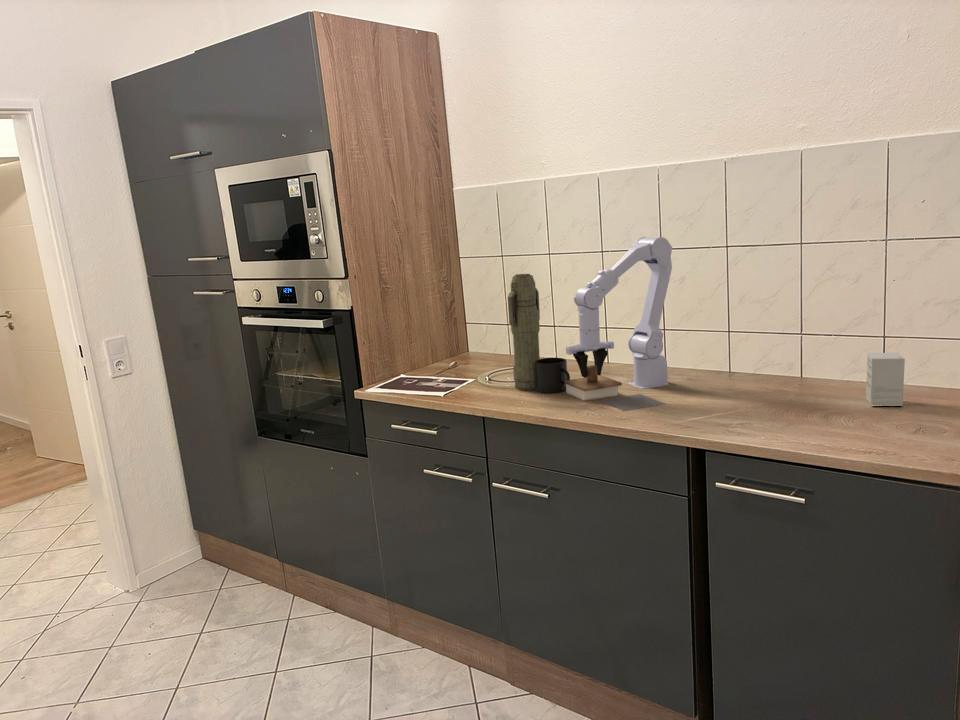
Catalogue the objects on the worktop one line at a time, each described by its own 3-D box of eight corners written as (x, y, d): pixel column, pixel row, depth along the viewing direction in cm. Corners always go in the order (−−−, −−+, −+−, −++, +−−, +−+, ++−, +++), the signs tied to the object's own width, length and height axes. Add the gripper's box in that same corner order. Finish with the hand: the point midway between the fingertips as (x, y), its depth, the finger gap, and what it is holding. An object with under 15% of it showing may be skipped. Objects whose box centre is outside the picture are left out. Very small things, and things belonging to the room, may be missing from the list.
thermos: (505, 389, 229) (498, 276, 222) (528, 381, 237) (522, 272, 230) (527, 392, 223) (521, 276, 216) (551, 383, 231) (545, 272, 224)
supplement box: (897, 400, 189) (899, 352, 187) (903, 408, 182) (905, 358, 180) (865, 399, 192) (866, 352, 189) (869, 407, 185) (871, 358, 182)
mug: (559, 396, 216) (558, 366, 214) (530, 390, 225) (528, 361, 223) (580, 389, 222) (579, 360, 220) (551, 384, 231) (550, 356, 229)
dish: (599, 389, 221) (598, 377, 220) (618, 396, 211) (617, 384, 210) (566, 394, 217) (565, 382, 217) (583, 402, 207) (583, 390, 206)
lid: (600, 377, 220) (599, 360, 219) (621, 385, 209) (621, 367, 208) (564, 383, 216) (563, 365, 215) (584, 391, 205) (583, 373, 204)
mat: (640, 395, 211) (640, 393, 211) (666, 405, 199) (666, 403, 199) (599, 401, 207) (599, 400, 206) (624, 412, 195) (624, 411, 194)
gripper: (573, 334, 204) (575, 381, 207) (618, 328, 209) (620, 374, 211) (561, 331, 211) (563, 377, 213) (606, 325, 215) (607, 370, 218)
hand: (591, 375), depth 213 cm, fingers open, 4 cm apart
